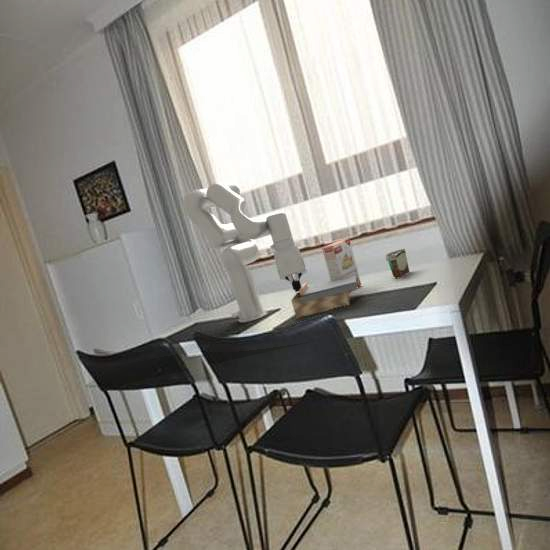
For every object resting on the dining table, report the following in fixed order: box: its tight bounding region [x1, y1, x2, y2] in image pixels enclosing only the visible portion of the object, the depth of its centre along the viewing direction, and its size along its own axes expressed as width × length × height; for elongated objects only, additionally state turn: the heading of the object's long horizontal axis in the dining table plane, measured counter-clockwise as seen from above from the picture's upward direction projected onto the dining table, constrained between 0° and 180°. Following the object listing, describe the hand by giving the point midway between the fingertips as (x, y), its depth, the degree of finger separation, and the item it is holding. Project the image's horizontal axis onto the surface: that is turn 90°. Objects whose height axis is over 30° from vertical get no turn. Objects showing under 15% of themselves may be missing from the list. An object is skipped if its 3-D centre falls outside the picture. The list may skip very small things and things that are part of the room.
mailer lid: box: [299, 275, 358, 302], centre depth 175 cm, size 21×15×5 cm
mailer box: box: [290, 291, 351, 319], centre depth 176 cm, size 20×13×7 cm, turn 79°
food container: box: [385, 248, 410, 279], centre depth 193 cm, size 12×6×10 cm, turn 144°
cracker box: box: [321, 238, 362, 294], centre depth 192 cm, size 14×6×21 cm, turn 143°
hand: (298, 290), depth 177 cm, fingers closed
